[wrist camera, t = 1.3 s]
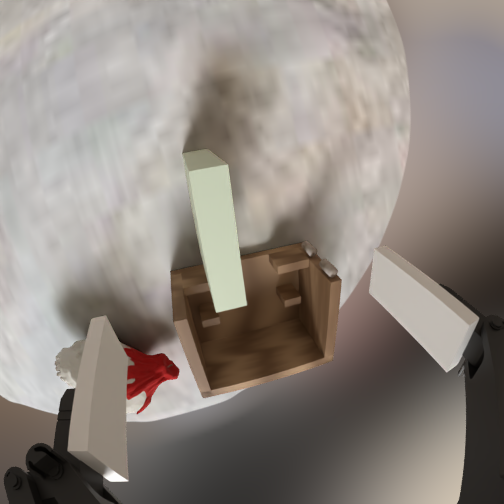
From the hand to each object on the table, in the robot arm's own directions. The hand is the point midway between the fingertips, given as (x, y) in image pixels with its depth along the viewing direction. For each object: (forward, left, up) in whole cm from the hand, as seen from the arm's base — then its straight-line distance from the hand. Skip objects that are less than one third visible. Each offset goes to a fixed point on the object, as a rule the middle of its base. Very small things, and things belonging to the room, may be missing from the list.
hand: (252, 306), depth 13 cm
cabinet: (+3, -14, -19) cm, 23 cm away
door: (0, -1, -19) cm, 19 cm away
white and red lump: (-15, -19, -19) cm, 31 cm away
